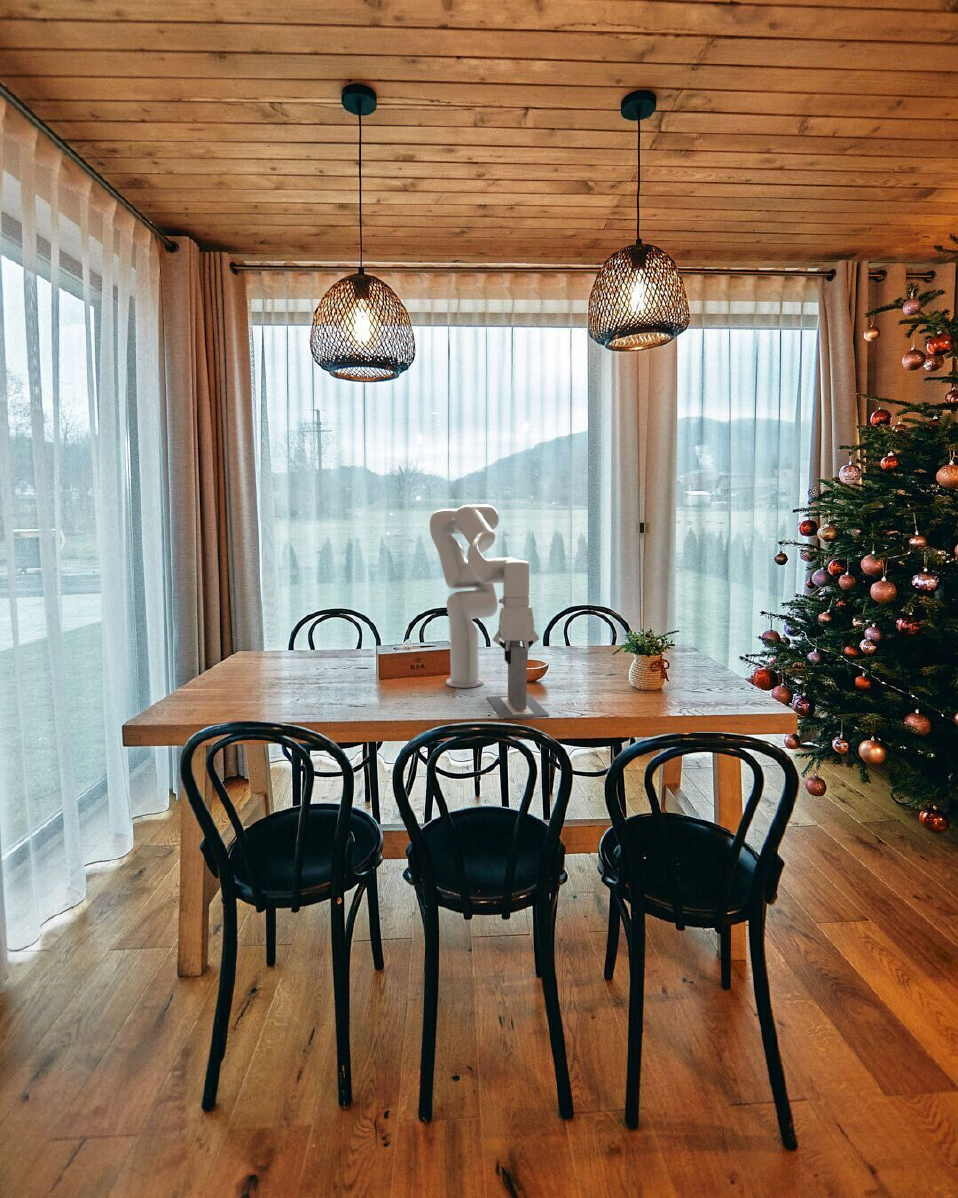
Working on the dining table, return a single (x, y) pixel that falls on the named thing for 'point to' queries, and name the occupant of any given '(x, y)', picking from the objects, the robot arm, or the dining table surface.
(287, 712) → the dining table surface
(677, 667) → the dining table surface
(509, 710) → the mat
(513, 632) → the robot arm
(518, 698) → the hip flask
